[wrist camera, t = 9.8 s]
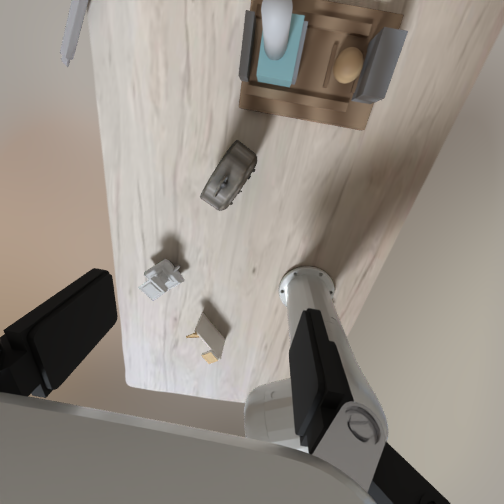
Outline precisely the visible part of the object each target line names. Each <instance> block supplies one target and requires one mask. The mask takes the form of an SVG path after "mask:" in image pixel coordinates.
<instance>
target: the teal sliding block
mask: <svg viewBox="0 0 504 504" xmlns="http://www.w3.org/2000/svg"><path fill="white" fill-rule="evenodd" d="M292 9H293V5H292V0H263V2H262V7H261V14H262V26H263V31H262V39H261V46H260V53H259V60H258V67H257V80H258V82H263V83H268V84H274V85H279V86H285V87H290V86H291V84H294V85H295V82H296V79H297V75H298V70H299V65H300V60H301V55H302V50H303V45H304V40H305V35H306V30H307V25H308V21H304V17H305V16H304V15H298V14H293V13H292Z"/></svg>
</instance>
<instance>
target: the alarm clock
mask: <svg viewBox="0 0 504 504" xmlns="http://www.w3.org/2000/svg"><path fill="white" fill-rule="evenodd" d="M256 164H257V156H256V154H255V153H254V152H252V151H251V150H250V149H249V148H247V147H246V146H245V145H244V144H242V143H241V142H240V141H239V140H236V141H235V142H234V143H233V144H232V146H231V147H230V148H229V150H228V151H227V153H226V154H225V156H224V157H223V158H222V160H221V161H220V163H219V164H218V166H217V167H216V169H215V171H214V172H213V174H212V175H211V177H210V179H209V180H208V182H207V184H206V186H205V188H204V189H203V191H202V193H201V196H200V197H201V199H202V200H204V201H206V202H207V203H208V204H210V205H211V206H213V207H214V208H216V209H217V210H219V211H222V210H225V209H226V208H227V207H228V206H229V205H232V204H233V203H232V201H233V200H234V198H235V197H236V196H237V194H239V193H240V190H241V188H242V187H243V185H244V184H245V183H246V181H247V179H249V178H250V177H251V176H250V175H251V173H252V172H255V169H254V168H255V166H256ZM241 192H242V191H241Z"/></svg>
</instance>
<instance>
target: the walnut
mask: <svg viewBox="0 0 504 504" xmlns="http://www.w3.org/2000/svg"><path fill="white" fill-rule="evenodd" d="M363 62H364V59H363V54H362V52H361V51H360V50H359V49H358V48H355V47H349V48H346V49H344V50H343V51H342V52H341V53H340V54H339V55H338V56H337V58H336V60H335V62H334V65H333V74H334V77H335V79H336V80H337V81H338V82H340V83H343V84H346V83H350V82H352V81H353V80H355V79H356V78H357V77H358V75H359V74H360V72H361V70H362V68H363Z"/></svg>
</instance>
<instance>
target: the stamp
mask: <svg viewBox="0 0 504 504" xmlns="http://www.w3.org/2000/svg"><path fill="white" fill-rule="evenodd" d="M179 268H180V266H177V267H174V265H173V264H172V263H171V262H170V261H169V260H167V259H164V260H162V261H161V262H159V263H158V264H156V265H155V266H153V267H152V268H150V269H148V270H147V271H145V273H144V275H145V276H146V277H147V278H148V279H149V280H148V281H146V282H145V283H144V284H142V285H141V286H139V287H138V288H139V289H140V290H142V291H143V292H144V293H145V294H146V295H147V296H148V297H149V298H150V299H151V300H152V301H154V300H156V299H157V298H158V297H160V296H161V295H163V294H164V293H165V292H166V291H168V290H170V289H171V288H173V287H175V286H177V285H178V284H180V283H182V282H183V281H184V278H183V277H182V275H181V273H180V272H179V271H178V269H179Z"/></svg>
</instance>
